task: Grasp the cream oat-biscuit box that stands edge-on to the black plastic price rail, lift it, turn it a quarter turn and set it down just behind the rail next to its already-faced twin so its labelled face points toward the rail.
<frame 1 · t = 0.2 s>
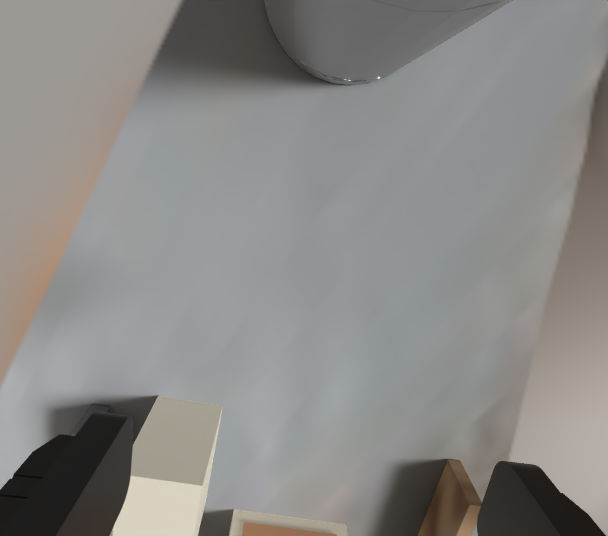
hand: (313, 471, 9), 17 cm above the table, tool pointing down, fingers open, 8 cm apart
faced twin box: (183, 450, 30), on the table
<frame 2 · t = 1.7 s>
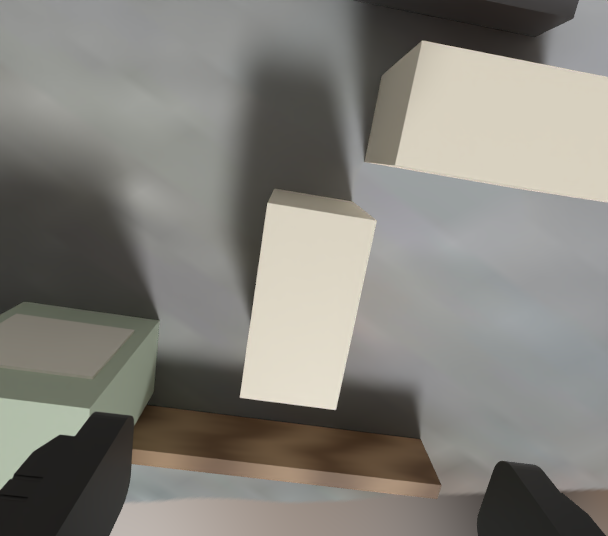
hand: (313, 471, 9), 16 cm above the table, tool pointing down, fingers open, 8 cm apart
shelf back lip: (228, 421, 27), on the table
biscuit box: (300, 269, 24), on the table
sage tea tin: (91, 348, 25), on the table
faced twin box: (451, 134, 23), on the table
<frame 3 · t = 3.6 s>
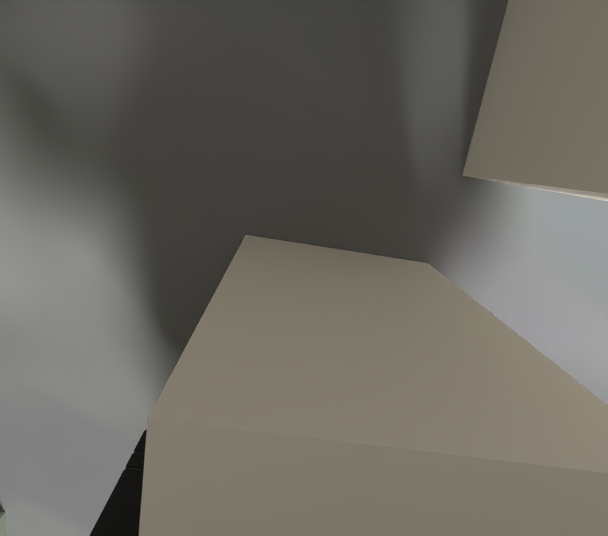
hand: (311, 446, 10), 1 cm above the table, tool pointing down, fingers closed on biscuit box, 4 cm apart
biscuit box: (307, 409, 11), on the table, touching gripper
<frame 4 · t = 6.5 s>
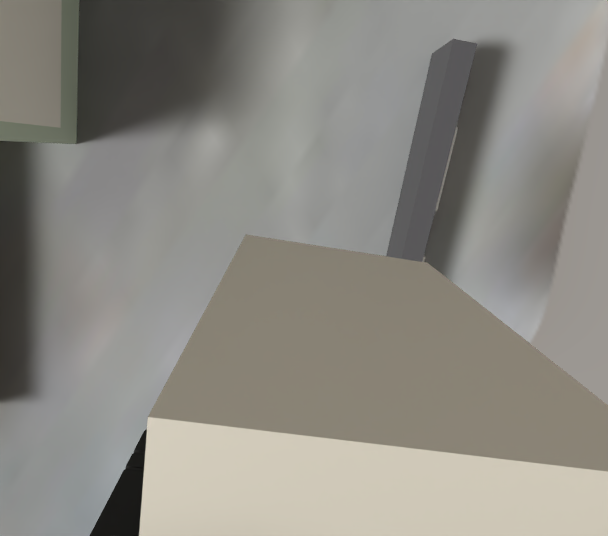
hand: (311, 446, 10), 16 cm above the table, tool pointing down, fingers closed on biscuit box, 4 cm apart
biscuit box: (307, 408, 11), point 15 cm above the table, touching gripper
price rail: (390, 278, 26), on the table
sage tea tin: (30, 59, 22), on the table
when the fingers open (3 cm above the table, at t = 9.3 s): biscuit box drops 1 cm, on the table.
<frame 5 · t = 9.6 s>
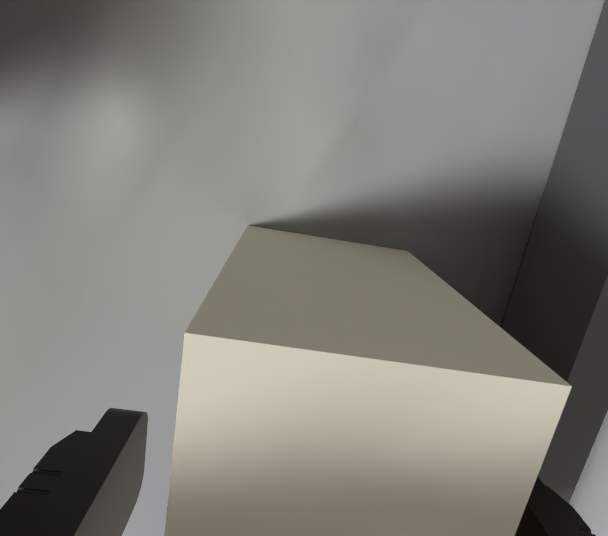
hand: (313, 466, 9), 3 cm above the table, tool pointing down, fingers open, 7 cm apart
biscuit box: (302, 380, 13), on the table
price rail: (494, 406, 13), on the table
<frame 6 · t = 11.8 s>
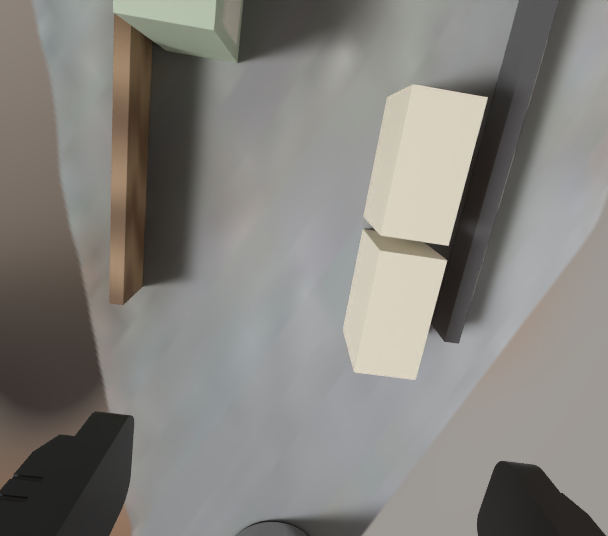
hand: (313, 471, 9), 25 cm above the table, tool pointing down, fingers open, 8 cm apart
shelf back lip: (142, 121, 30), on the table
biscuit box: (403, 163, 32), on the table
price rail: (480, 175, 32), on the table
faced twin box: (378, 284, 35), on the table
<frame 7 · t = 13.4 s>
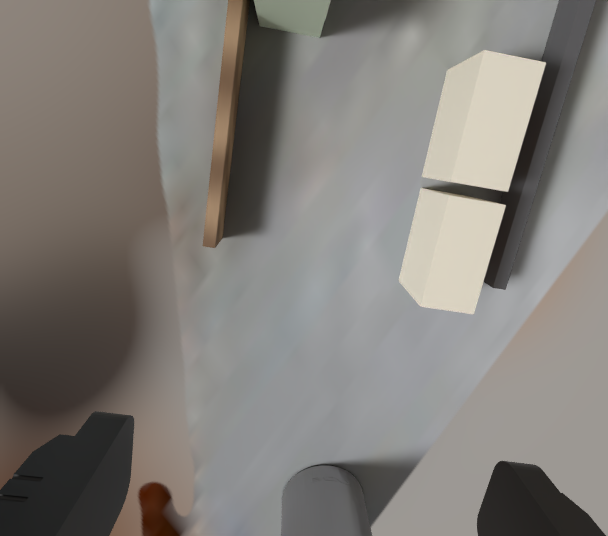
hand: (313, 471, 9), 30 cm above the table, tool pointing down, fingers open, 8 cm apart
shelf back lip: (233, 87, 34), on the table
biscuit box: (458, 129, 36), on the table
price rail: (524, 141, 37), on the table
faced twin box: (432, 239, 39), on the table
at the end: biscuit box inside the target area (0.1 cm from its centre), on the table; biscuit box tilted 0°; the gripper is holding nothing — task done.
